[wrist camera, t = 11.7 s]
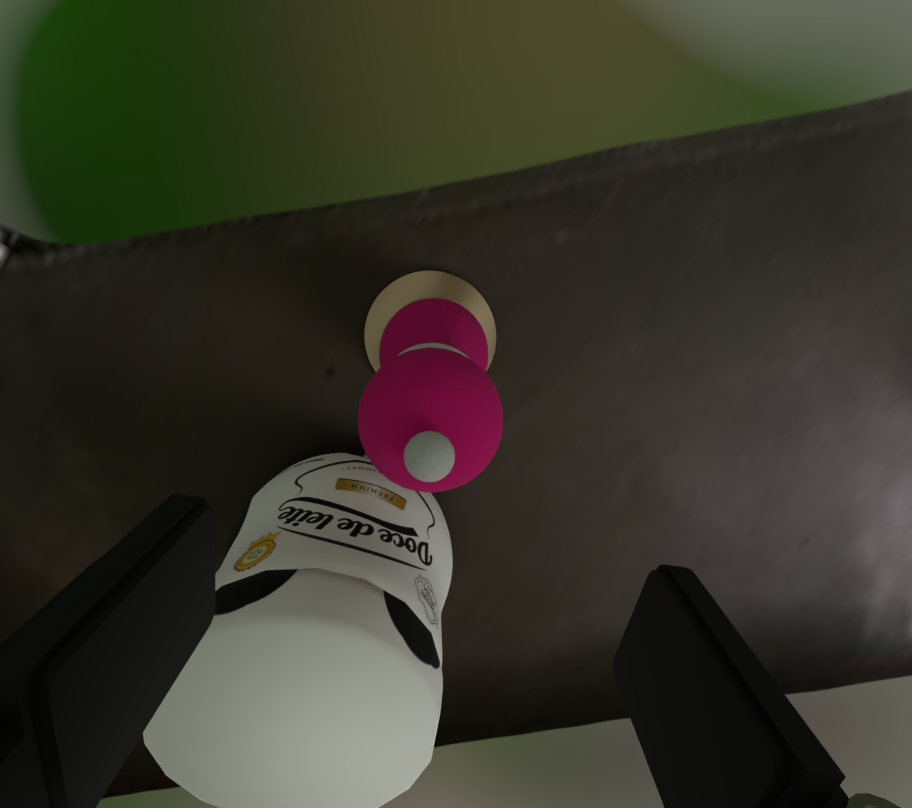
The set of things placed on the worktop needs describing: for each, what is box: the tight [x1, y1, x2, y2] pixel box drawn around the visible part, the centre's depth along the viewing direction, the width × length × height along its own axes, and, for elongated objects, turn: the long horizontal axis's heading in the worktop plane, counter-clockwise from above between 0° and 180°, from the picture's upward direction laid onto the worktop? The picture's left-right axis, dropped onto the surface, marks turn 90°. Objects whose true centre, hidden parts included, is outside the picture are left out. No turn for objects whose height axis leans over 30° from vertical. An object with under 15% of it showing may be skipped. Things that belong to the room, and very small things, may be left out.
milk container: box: [143, 453, 453, 808], centre depth 31 cm, size 17×17×18 cm
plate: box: [364, 271, 496, 372], centre depth 33 cm, size 10×10×1 cm
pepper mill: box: [358, 298, 503, 492], centre depth 24 cm, size 7×7×20 cm
